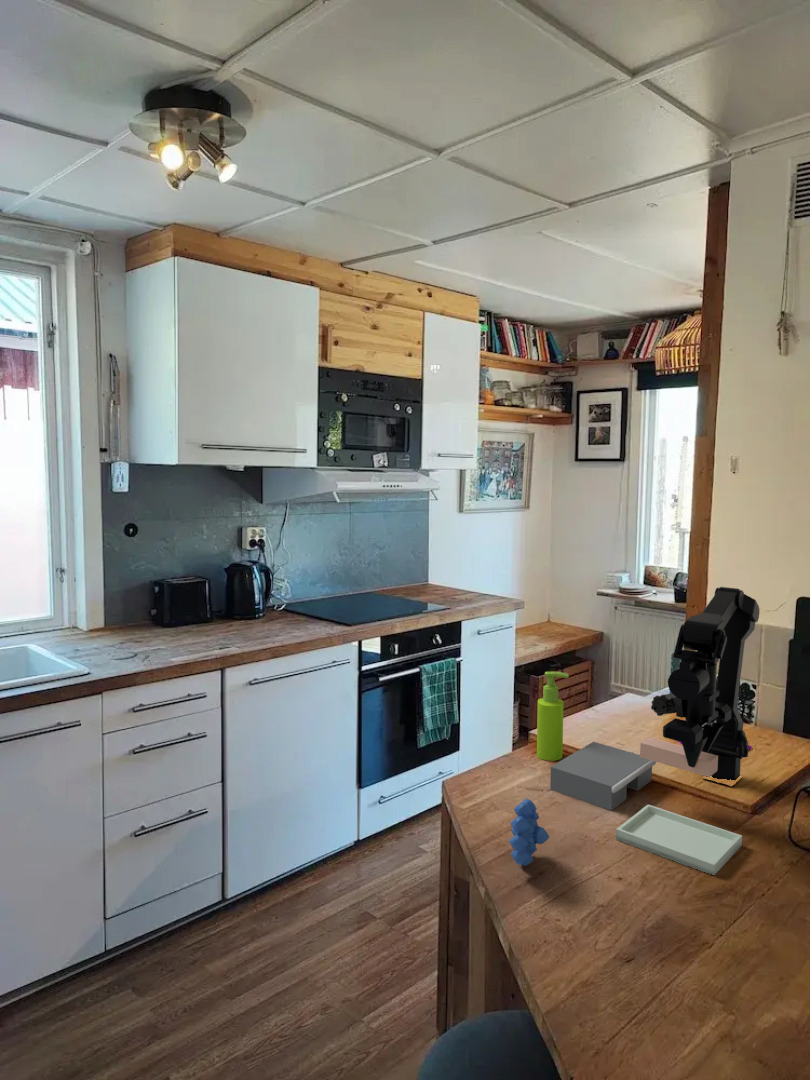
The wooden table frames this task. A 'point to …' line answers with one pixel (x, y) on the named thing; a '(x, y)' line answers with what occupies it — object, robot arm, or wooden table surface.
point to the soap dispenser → (550, 720)
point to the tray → (680, 838)
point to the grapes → (526, 833)
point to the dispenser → (600, 774)
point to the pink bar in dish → (677, 756)
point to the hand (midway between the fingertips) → (696, 763)
